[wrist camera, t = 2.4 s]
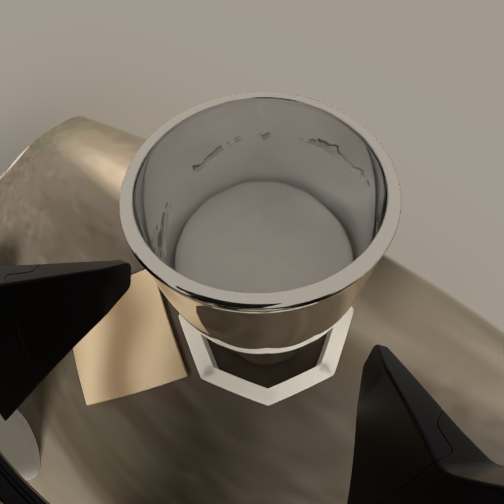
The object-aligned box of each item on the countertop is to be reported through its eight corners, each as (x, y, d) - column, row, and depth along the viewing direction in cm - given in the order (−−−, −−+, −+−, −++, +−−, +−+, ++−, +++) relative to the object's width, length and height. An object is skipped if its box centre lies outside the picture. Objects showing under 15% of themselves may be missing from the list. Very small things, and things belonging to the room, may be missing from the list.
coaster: (89, 405, 16) (86, 405, 16) (69, 304, 20) (66, 303, 20) (188, 376, 18) (187, 375, 17) (153, 268, 22) (152, 266, 21)
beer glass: (236, 385, 17) (135, 376, 4) (205, 295, 20) (110, 130, 7) (331, 348, 18) (463, 240, 5) (292, 264, 21) (317, 75, 8)
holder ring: (225, 419, 16) (220, 423, 14) (174, 286, 21) (165, 276, 19) (365, 355, 18) (375, 351, 16) (299, 235, 22) (302, 221, 21)
